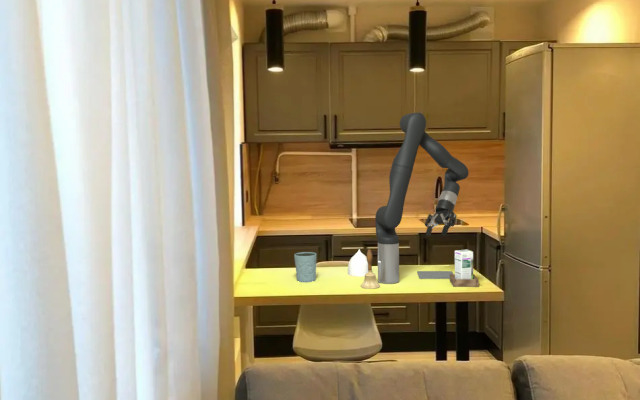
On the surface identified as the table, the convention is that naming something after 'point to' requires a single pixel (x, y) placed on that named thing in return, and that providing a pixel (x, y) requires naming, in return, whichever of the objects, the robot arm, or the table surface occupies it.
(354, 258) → the teardrop
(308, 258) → the teal tapered cup
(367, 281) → the hand bell
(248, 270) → the table surface
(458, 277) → the syrup box
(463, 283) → the walnut collar
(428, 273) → the grey mat
